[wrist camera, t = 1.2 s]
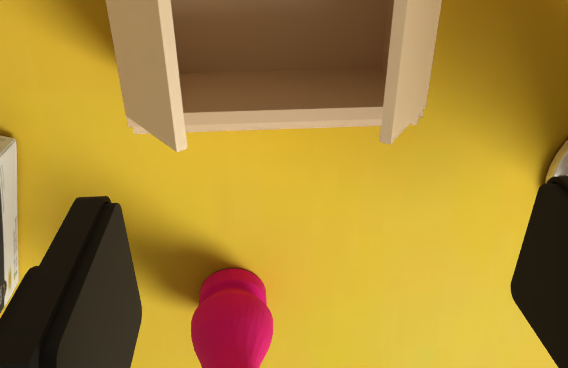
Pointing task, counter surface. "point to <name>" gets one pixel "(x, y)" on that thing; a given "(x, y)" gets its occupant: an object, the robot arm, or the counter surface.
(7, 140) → the tea box
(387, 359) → the counter surface
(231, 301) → the pepper mill
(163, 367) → the counter surface
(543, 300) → the robot arm
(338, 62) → the carton
